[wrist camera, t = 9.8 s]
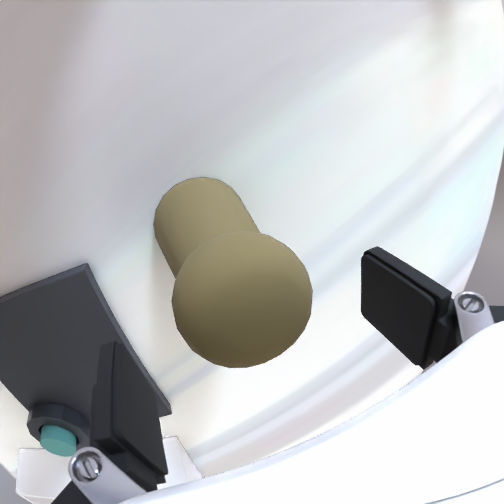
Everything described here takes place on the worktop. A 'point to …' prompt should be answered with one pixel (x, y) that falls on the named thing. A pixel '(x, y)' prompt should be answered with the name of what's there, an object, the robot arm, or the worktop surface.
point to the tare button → (58, 440)
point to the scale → (59, 350)
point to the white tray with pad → (57, 478)
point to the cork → (229, 277)
